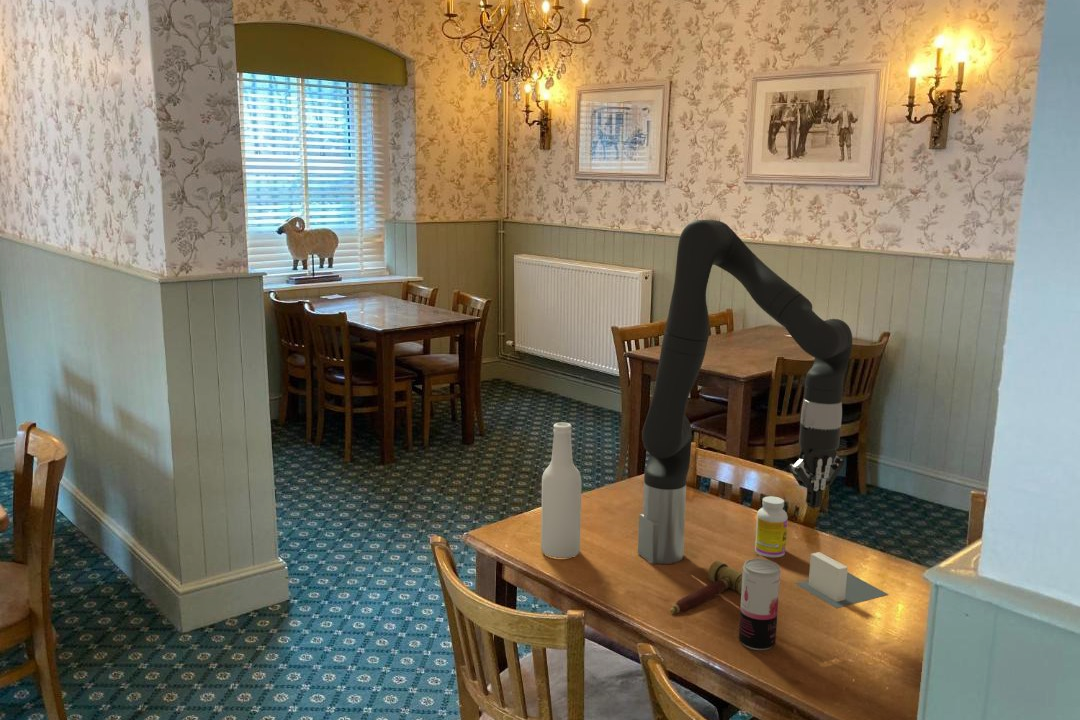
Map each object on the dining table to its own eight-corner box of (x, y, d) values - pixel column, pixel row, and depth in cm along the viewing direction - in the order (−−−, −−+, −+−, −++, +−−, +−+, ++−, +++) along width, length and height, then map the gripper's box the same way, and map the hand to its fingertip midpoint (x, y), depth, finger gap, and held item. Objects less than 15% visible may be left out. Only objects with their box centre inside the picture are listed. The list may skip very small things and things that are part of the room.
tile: (836, 601, 177) (839, 569, 175) (808, 585, 184) (810, 553, 182) (845, 599, 178) (847, 567, 176) (816, 583, 185) (819, 551, 183)
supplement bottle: (785, 561, 197) (789, 506, 194) (755, 558, 198) (758, 504, 196) (783, 549, 203) (787, 495, 201) (754, 546, 205) (757, 493, 202)
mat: (836, 610, 174) (836, 608, 174) (794, 585, 185) (794, 583, 185) (888, 597, 180) (888, 594, 180) (845, 573, 191) (845, 571, 191)
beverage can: (781, 649, 160) (787, 572, 157) (747, 653, 159) (752, 575, 156) (765, 631, 166) (770, 556, 163) (732, 634, 165) (737, 559, 162)
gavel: (690, 610, 168) (652, 591, 175) (690, 632, 169) (652, 612, 177) (760, 574, 180) (721, 557, 188) (759, 594, 182) (721, 577, 189)
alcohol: (587, 551, 201) (590, 424, 195) (563, 564, 194) (565, 432, 188) (557, 541, 206) (559, 416, 200) (533, 553, 200) (534, 424, 193)
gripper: (831, 414, 178) (824, 495, 181) (781, 421, 172) (774, 505, 176) (860, 423, 171) (852, 508, 175) (808, 431, 165) (801, 518, 169)
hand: (813, 506), depth 175 cm, fingers closed
